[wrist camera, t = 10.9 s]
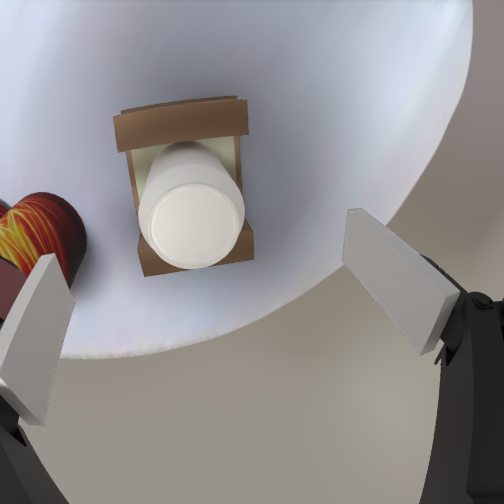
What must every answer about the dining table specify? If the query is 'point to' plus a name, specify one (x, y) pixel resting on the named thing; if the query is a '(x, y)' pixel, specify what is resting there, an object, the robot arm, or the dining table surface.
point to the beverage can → (190, 207)
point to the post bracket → (179, 130)
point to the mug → (37, 242)
